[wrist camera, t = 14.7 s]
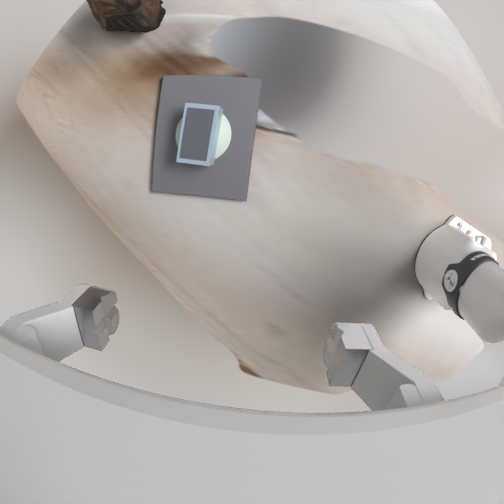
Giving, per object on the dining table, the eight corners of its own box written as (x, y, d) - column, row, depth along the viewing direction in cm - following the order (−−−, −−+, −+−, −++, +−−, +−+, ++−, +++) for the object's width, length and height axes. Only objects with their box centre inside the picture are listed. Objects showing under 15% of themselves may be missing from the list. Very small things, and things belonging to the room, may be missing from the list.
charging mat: (261, 81, 38) (261, 79, 36) (246, 199, 45) (246, 201, 44) (165, 77, 38) (163, 75, 36) (154, 190, 45) (151, 191, 44)
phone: (223, 109, 39) (219, 105, 35) (213, 164, 42) (208, 166, 38) (192, 106, 38) (185, 102, 35) (183, 160, 42) (175, 162, 38)
